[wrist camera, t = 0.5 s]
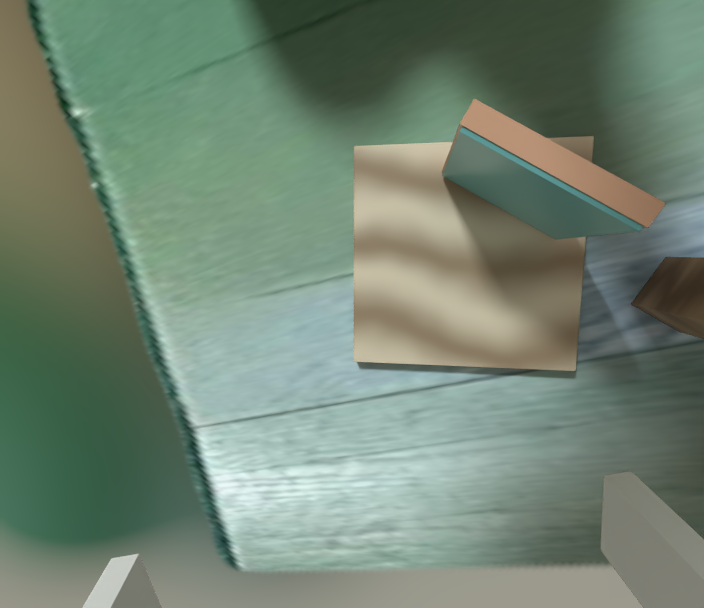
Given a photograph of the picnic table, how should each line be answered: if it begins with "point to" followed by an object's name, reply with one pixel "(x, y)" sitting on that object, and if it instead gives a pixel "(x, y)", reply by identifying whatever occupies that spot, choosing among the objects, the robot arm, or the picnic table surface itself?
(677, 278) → the walnut stick
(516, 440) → the picnic table surface
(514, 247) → the birch board
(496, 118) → the tile
